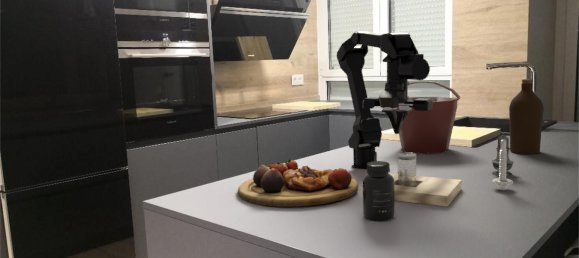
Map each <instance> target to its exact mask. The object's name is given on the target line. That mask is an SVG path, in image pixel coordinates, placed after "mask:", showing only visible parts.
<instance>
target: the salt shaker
mask: <svg viewBox="0 0 579 258" xmlns="http://www.w3.org/2000/svg"><path fill="white" fill-rule="evenodd" d="M503 139H504V140H506V149H507V150H506V151H507V153H506V154H507V155H506V156H507V157H506V158H507V159H506V161H507V162H506V163H507V164H506V165H507V166H506V167H507V168H506V170H507V171H506V172H507V173H506V174H507V175H506V177H510V176H513V173H512V172H511V171H510V170H511V169H513V164H514V163H515V162H514V160H511V159H510V157H509V156H510V155H509V154H510V137H508V136H507V135H505V133H504V132H502V134H501V136H498V137H497V147H496V148H495V149H496V150H497V151H496V158H495V159H493V160H491V164H492V167H493V168H494V169H495V171H493V172H492V173H491V174H492V175H494V176H497V175H498V177H499V171H500V169H499V168H500V167H499V166H500V165H499V164H500V160H499V159H500V158H499V157H500V148H501V140H503Z"/></svg>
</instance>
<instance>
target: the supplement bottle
mask: <svg viewBox="0 0 579 258" xmlns="http://www.w3.org/2000/svg"><path fill="white" fill-rule="evenodd" d="M390 172H391V168H390V162H388V161H383V160H377V161H372V162H368V163H367V168H366V173H367V174H365V175H364V176H363V178H362V208H363V209H362V215H363V217H364V218H365V219H367V220H369V221H374V222H385V221H386V222H387V221H391V220H392V219H393V218H395V214H396V213H395V212H396V210H395V209H396V208H395V207H396V206H395V205H396V201H395V186H394V178H393V176H391V175H392V174H390Z"/></svg>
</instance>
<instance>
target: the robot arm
mask: <svg viewBox="0 0 579 258" xmlns="http://www.w3.org/2000/svg"><path fill="white" fill-rule="evenodd" d="M369 47H372V48H377V49H380V52H383V53H385V54H386V56H385V57H383V59H382V62H383V63H386V82H385V84H384V90H383V91H382V92H381V93H380V94H379V95H378V96H377V97H376V96H369V97H368V94H367V89H366V84H365V79H364V75H363V69H364V66H365V63H366V60H365V57H366V56H367V54H368V53H369ZM424 55H425V54H424V53H419V51H418V49H417V47H416V45H415V43H414V41H413V38H412V37H411V34H410V33H408V32H389V33H376V32H369V31H364V30H362V31H355V32H353V33H352V34H351V36H350V38H348V39H347V40H345V41H344V42H342V43H341V45H340V46H339V48H338V50H337V51H336V60H337V61H338V65H339V68H340V69H341V70H342V71H343V73H345V75H346V78H347V82H348V87H349V92H350V97H351V101H352V105H353V107H352V108H353V111H354V115H355V119H354V121H353V125H352V134H351V136H350V138H349V139H348V140H347V143H348V147H349V148H350V149H352V150H353V151H352V153H353V157H352V158H353V164H352V165H351V168H354V169H355V168H357V169H367V163H368V162H372V161H378V156H377V155H378V153H377V151H376V148H379V147H380V145H381V140H382V136H383V135H382V134H383V133H382V130H383V129H382V127H381V123H380V122H381V121H380V120H381V119H380V118H379V117H375V116H373V114H372V111H371V109H374V107H379V108H382V110H381V112H382V113H384V114H386V115H387V117H388V119H389V122H390V124H391V126H392V129H393V132H394V135H399V132H400V129H401V127H402V124H403V122H404V119H405V118H406V116H407V114H408V112H411V111H412V109H411V107H413V108H414V109H415V110H416V111H428V110H431V109H433V101H432V100H431V99H424V98H418V99H415V100H414V101H407V100H409V97H410V96H408V94H409V93H408V92H409V91H408V87H409V83H410V82H409V80H410V81H425V79H426V78H428V76H429V75H430V71H431V67H430V64H429V63H428V61H427V60H426V59H425V58H424ZM397 107H399V110H398V108H397Z"/></svg>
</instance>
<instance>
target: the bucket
mask: <svg viewBox="0 0 579 258" xmlns="http://www.w3.org/2000/svg"><path fill="white" fill-rule="evenodd" d="M413 84H415V85H416V84H433V85H436V86H439V87H441V88H443V89H446V90H448V91H449V92H451V93H452V94H453V95H454V96H455V97H450V96H449V97H447V96H409V100H407V101H414V100H415V99H418V98H424V99H431V100H432V101H433V109H431V110H428V111H416V110H415V109H414V108H413V107H411V109H412V111H411V112H408V114H407V116H406V118H405V119H404V122H403V124H402V127H401V129H400V132H399V134H398V135H399V141H400V148H401V149H402V150H403V152H405V151H406V152H413V153H416V154H420V153H422V154H423V155H428V154H431V153H432V154H442V153H446V152H447V151H449V148H450V143H451V139H452V133H453V128H454V124H455V119H456V114H457V110H458V101H460V99H461V96H460V95H459V93H458V92H457V91H456V90H455V89H454V88H452V87H450V86H448V85H446V84H443V83H440V82H437V81H430V80H418V81H411V82H409V85H413ZM409 85H408V86H409ZM397 108H398V110H399V107H397ZM422 154H421V155H422Z"/></svg>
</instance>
